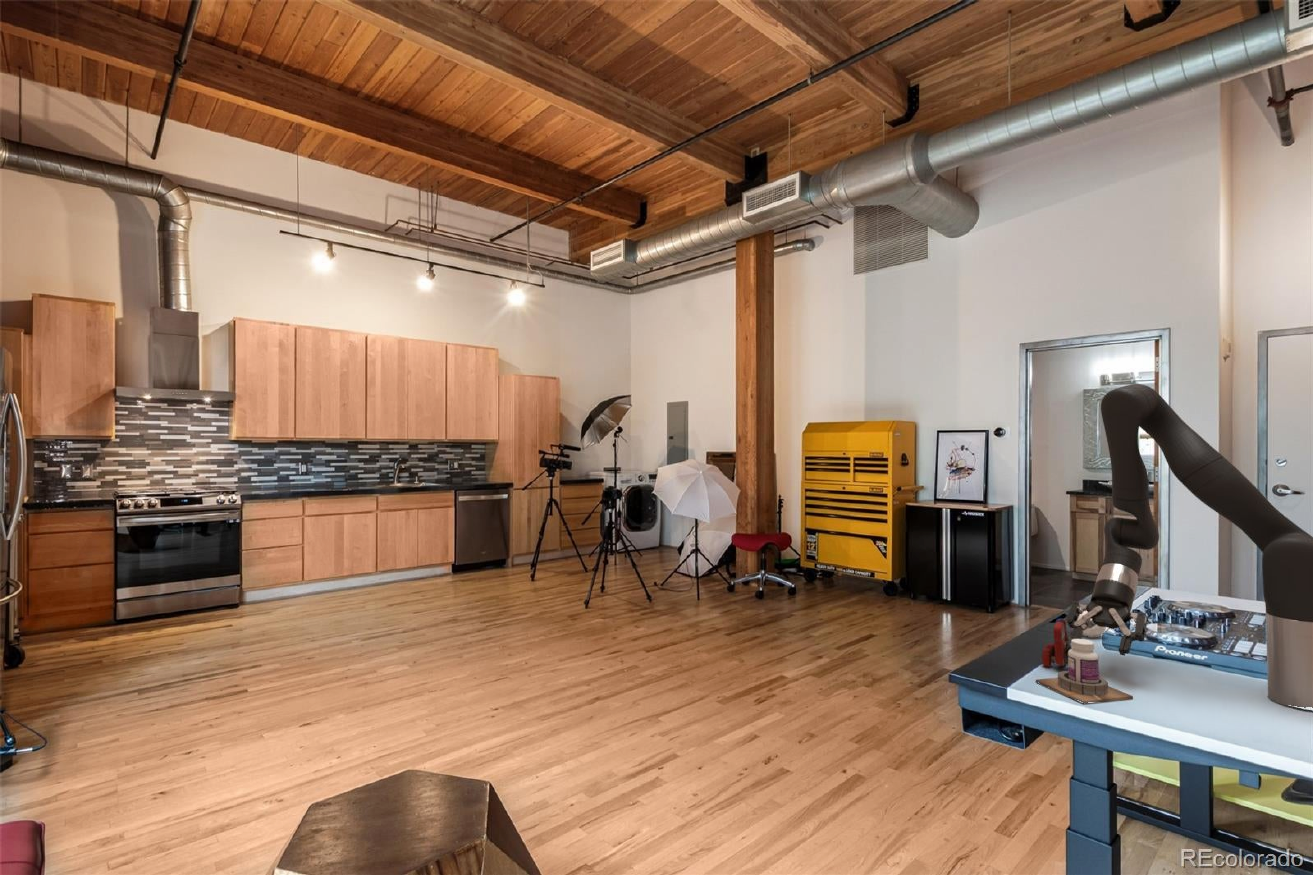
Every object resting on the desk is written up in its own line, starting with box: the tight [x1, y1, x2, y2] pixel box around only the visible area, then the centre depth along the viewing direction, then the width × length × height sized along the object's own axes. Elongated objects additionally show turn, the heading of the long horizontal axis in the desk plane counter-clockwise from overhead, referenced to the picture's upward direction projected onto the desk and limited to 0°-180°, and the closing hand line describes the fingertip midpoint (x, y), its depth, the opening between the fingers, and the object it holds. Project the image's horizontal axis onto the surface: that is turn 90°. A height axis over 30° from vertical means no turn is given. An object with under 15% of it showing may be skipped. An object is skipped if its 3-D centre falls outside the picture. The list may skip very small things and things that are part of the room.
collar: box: [1035, 670, 1134, 703], centre depth 132 cm, size 12×12×3 cm
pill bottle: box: [1067, 638, 1100, 684], centre depth 132 cm, size 5×5×10 cm
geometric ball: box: [1077, 611, 1107, 639], centre depth 169 cm, size 8×8×8 cm
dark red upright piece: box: [1041, 618, 1072, 668], centre depth 147 cm, size 7×12×10 cm, turn 140°
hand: (1098, 648), depth 136 cm, fingers open, 8 cm apart
